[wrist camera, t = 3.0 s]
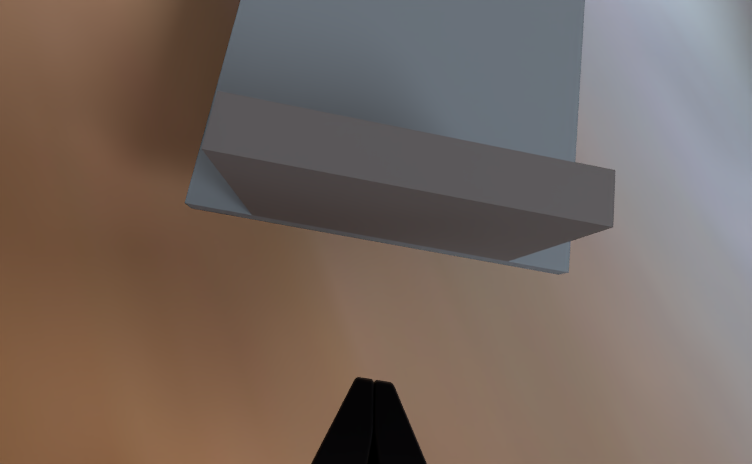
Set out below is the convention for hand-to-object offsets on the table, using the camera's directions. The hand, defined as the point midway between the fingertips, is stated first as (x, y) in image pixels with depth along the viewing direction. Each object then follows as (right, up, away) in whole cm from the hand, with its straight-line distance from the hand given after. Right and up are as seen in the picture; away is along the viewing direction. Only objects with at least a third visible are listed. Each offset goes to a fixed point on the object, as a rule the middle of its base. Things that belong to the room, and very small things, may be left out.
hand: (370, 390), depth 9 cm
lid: (+1, +10, +6) cm, 12 cm away
